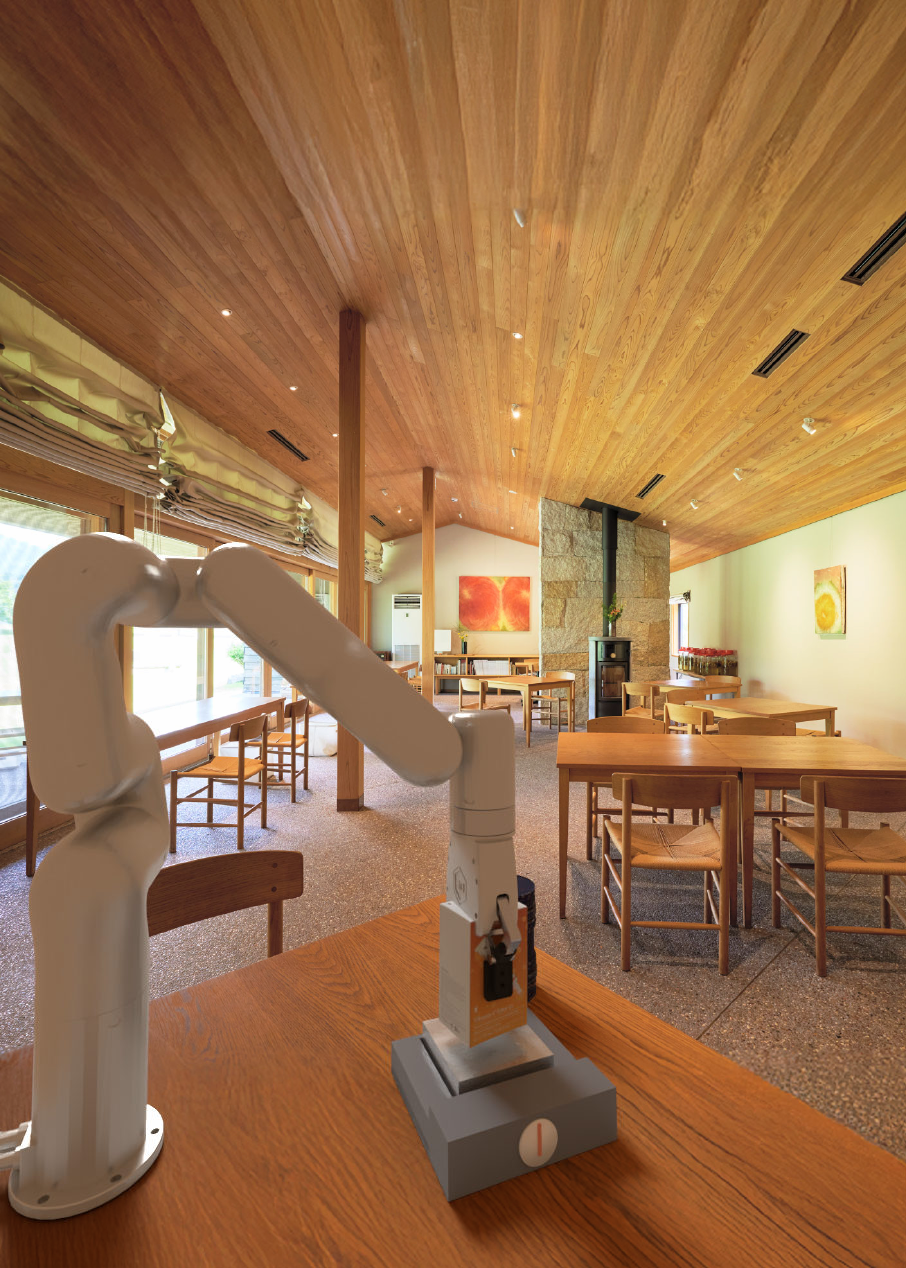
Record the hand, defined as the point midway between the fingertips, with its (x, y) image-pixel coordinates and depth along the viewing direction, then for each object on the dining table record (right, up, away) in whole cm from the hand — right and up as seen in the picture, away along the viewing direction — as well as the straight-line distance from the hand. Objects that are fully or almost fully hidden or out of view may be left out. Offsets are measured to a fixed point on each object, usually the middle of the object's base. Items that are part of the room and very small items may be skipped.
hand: (483, 978), depth 67 cm
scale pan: (0, -9, 0) cm, 9 cm away
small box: (0, -5, 0) cm, 5 cm away
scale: (+1, -12, -3) cm, 12 cm away
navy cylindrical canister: (+4, -13, +20) cm, 24 cm away
